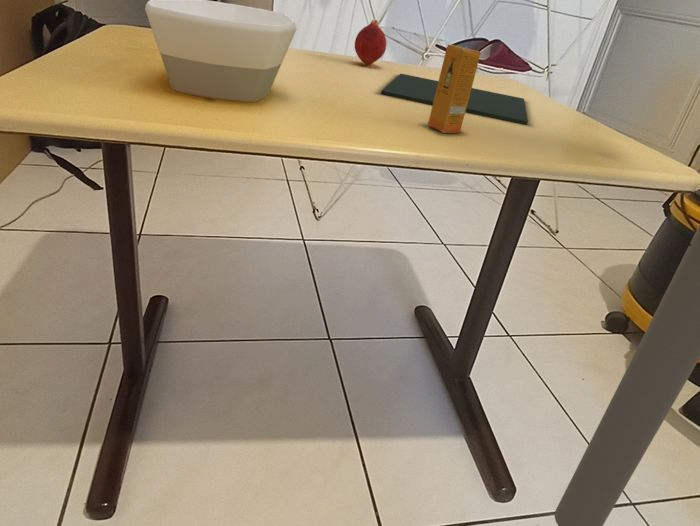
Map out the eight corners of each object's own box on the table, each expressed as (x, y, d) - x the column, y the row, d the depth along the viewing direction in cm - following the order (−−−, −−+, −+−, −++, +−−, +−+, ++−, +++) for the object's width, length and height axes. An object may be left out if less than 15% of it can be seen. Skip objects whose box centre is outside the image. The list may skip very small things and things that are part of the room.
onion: (380, 70, 102) (388, 23, 98) (349, 64, 102) (356, 17, 98) (384, 66, 107) (392, 21, 103) (354, 60, 107) (361, 15, 103)
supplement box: (463, 133, 71) (483, 51, 66) (442, 133, 69) (462, 49, 65) (446, 125, 74) (465, 45, 69) (426, 125, 72) (444, 43, 67)
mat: (523, 101, 97) (524, 98, 97) (527, 124, 81) (528, 121, 81) (400, 76, 100) (400, 73, 100) (380, 94, 84) (381, 90, 84)
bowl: (127, 93, 64) (124, 4, 59) (169, 65, 79) (169, -7, 75) (283, 116, 65) (291, 31, 61) (294, 84, 81) (301, 14, 76)
